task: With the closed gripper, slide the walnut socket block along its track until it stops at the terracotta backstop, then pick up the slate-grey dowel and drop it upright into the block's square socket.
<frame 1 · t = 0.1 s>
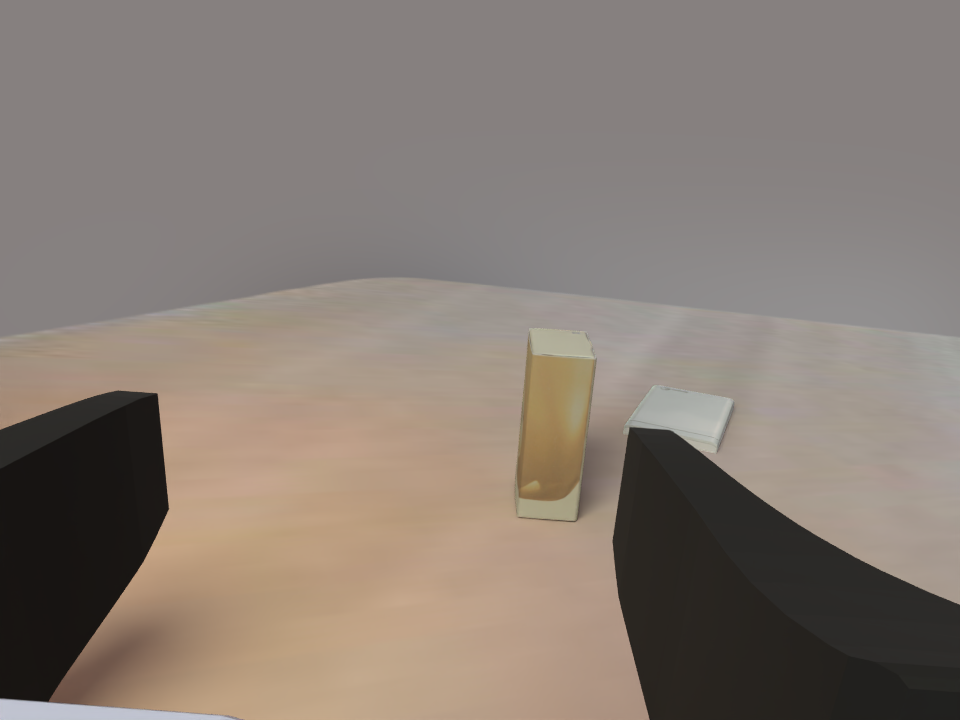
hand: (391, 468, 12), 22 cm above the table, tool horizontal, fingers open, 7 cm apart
skincare box: (544, 503, 58), on the table
hard drive: (679, 427, 75), on the table
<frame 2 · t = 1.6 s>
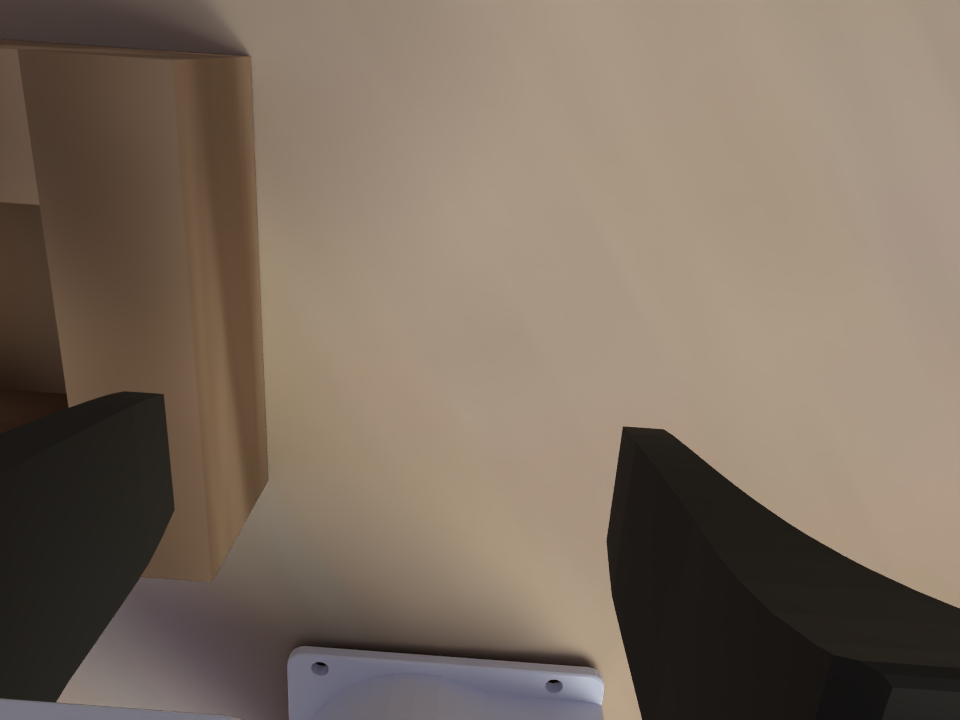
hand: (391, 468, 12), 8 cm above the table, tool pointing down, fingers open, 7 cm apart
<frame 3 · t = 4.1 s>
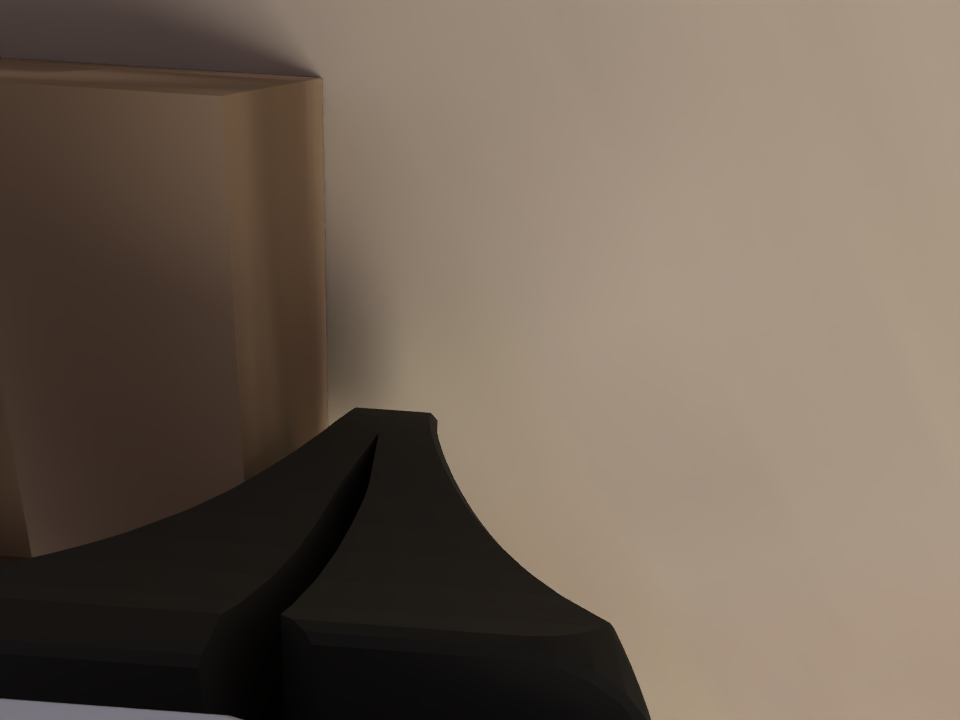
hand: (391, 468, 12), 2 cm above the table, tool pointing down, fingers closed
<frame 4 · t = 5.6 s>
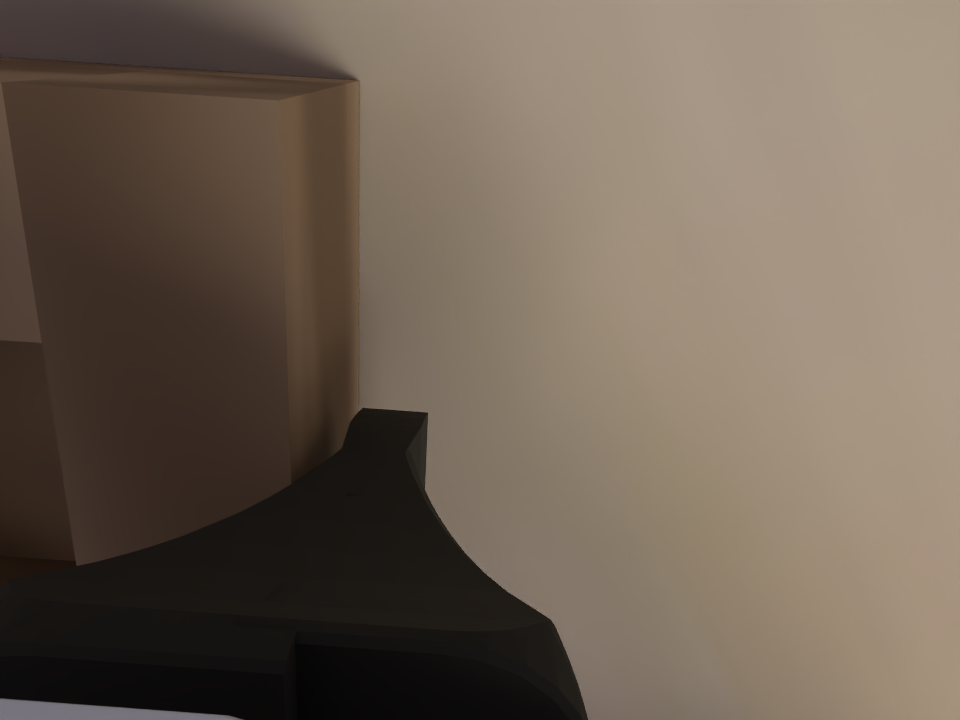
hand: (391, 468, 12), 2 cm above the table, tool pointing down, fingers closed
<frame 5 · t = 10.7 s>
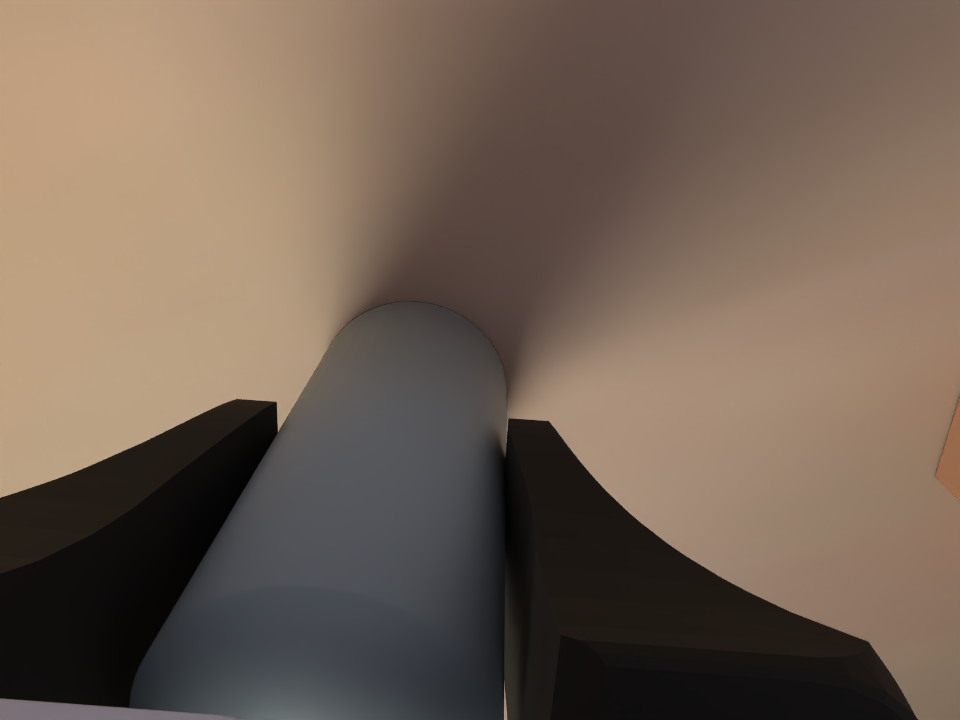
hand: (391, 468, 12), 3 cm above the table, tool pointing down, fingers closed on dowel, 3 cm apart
dowel: (413, 390, 15), on the table, touching gripper
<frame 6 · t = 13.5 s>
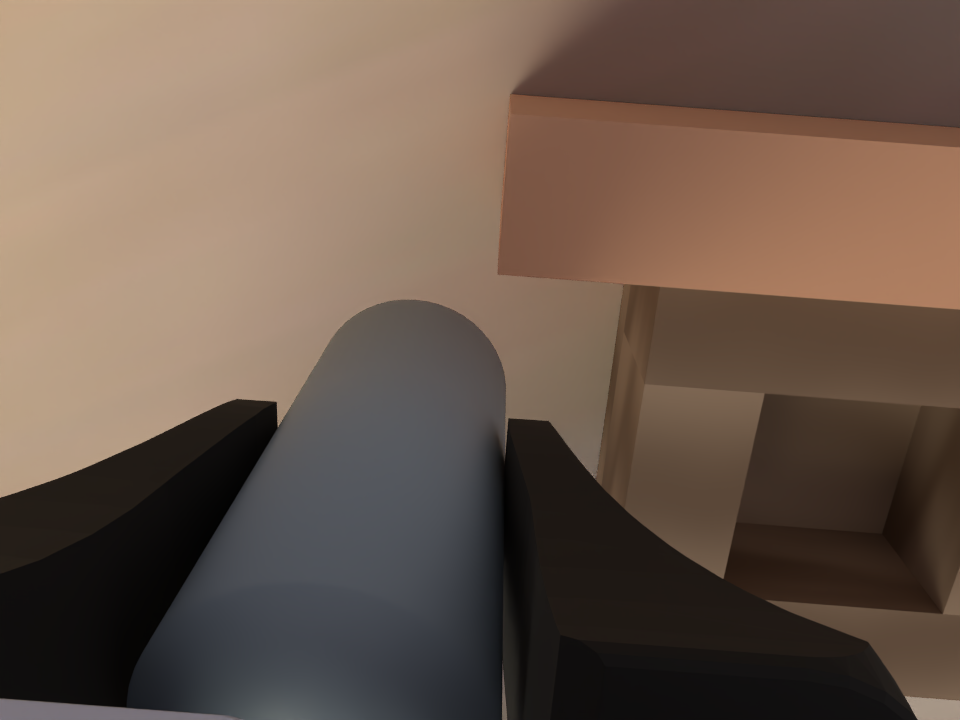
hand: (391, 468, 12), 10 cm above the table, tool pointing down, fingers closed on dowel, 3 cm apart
pocket block: (823, 463, 21), point 2 cm above the table, slide at 7.5 cm, touching backstop
dowel: (412, 389, 15), point 7 cm above the table, touching gripper
backstop: (854, 181, 20), on the table
when the fingers open (6 cm above the table, at t = 16.2 s): dowel drops 2 cm, resting on pocket block.
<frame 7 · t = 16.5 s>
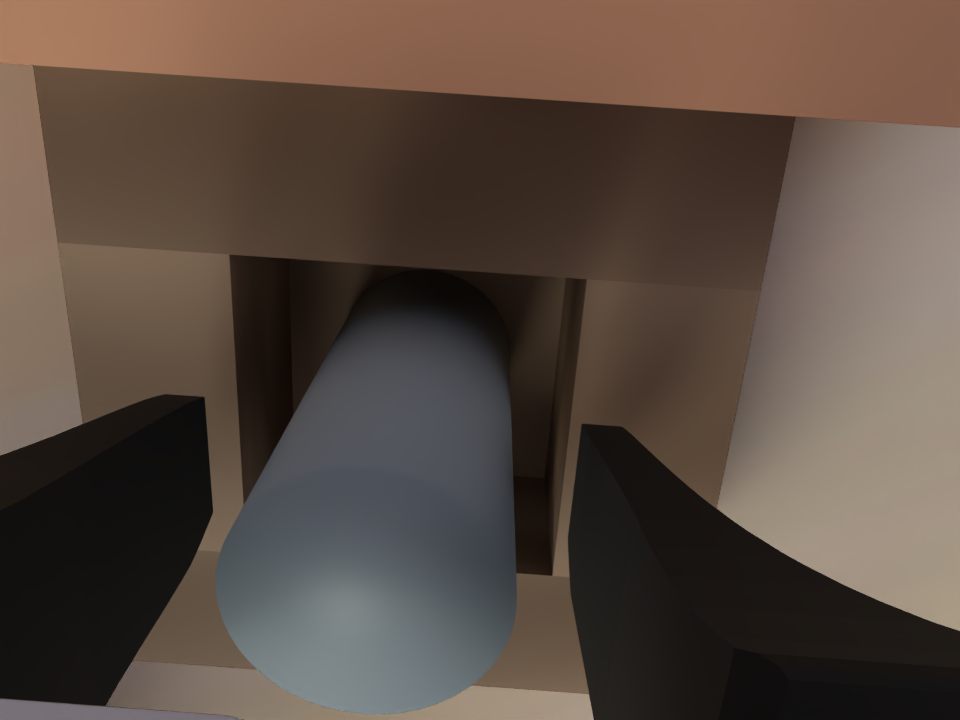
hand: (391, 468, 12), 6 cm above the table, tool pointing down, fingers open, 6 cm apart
pocket block: (417, 375, 15), point 2 cm above the table, slide at 7.5 cm, touching backstop, dowel
dowel: (425, 350, 17), point 1 cm above the table, touching pocket block
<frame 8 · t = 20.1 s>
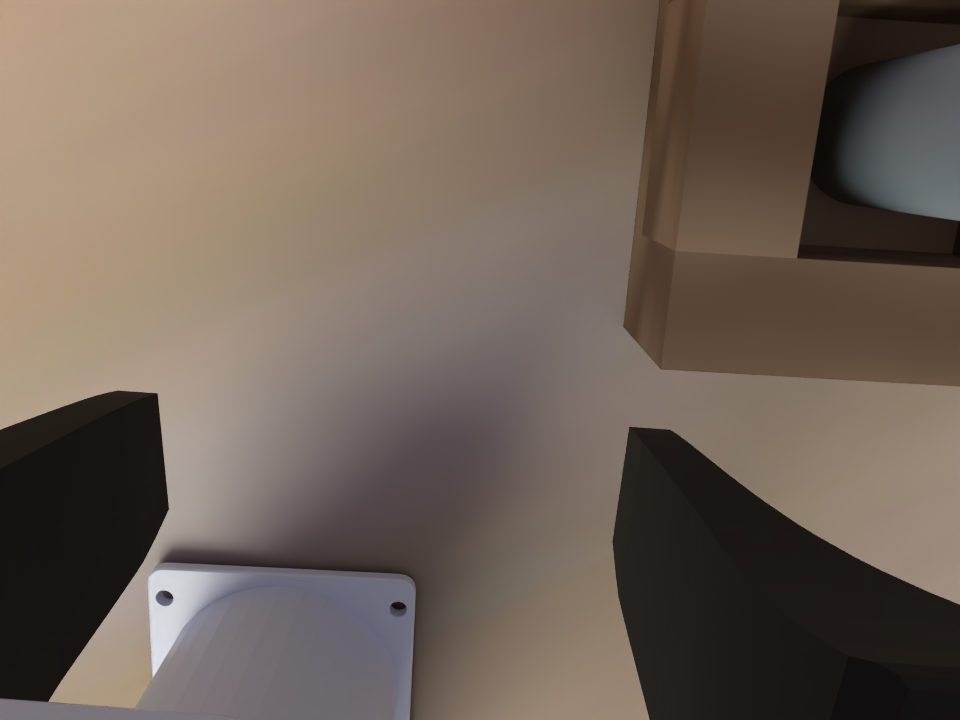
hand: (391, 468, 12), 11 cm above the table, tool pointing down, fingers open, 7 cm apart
pocket block: (893, 136, 19), point 2 cm above the table, slide at 7.5 cm, touching dowel
dowel: (869, 135, 20), point 1 cm above the table, touching pocket block
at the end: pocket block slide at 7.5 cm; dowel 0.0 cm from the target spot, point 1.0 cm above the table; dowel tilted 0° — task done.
